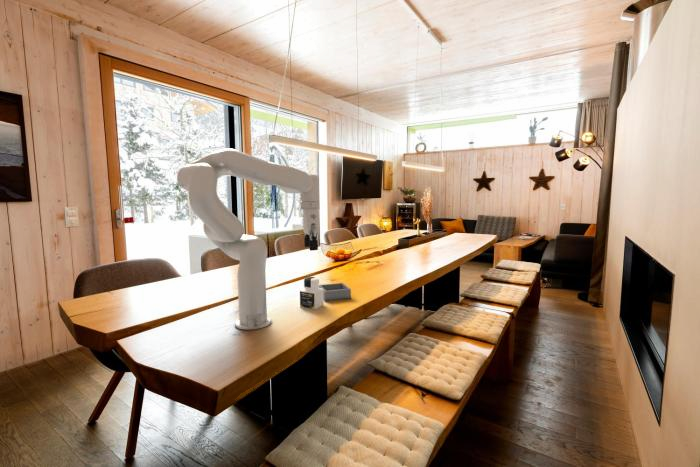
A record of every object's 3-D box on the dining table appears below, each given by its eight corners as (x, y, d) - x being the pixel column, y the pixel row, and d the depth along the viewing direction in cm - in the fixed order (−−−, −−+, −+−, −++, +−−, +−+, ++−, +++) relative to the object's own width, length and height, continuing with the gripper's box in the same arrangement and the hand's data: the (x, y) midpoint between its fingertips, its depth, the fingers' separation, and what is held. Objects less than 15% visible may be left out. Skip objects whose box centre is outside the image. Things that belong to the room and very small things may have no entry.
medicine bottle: (299, 307, 142) (299, 278, 141) (309, 302, 148) (309, 275, 147) (314, 310, 139) (313, 280, 137) (324, 305, 145) (323, 276, 144)
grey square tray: (350, 298, 153) (350, 288, 153) (325, 301, 150) (325, 291, 149) (342, 292, 164) (342, 282, 164) (318, 294, 161) (318, 284, 160)
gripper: (324, 206, 132) (325, 251, 134) (314, 205, 148) (315, 245, 150) (305, 206, 130) (306, 252, 132) (296, 205, 146) (297, 246, 148)
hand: (311, 248), depth 141 cm, fingers open, 9 cm apart
